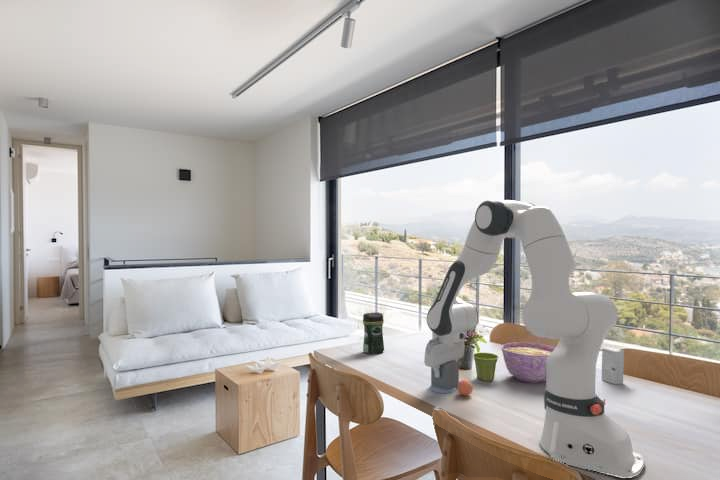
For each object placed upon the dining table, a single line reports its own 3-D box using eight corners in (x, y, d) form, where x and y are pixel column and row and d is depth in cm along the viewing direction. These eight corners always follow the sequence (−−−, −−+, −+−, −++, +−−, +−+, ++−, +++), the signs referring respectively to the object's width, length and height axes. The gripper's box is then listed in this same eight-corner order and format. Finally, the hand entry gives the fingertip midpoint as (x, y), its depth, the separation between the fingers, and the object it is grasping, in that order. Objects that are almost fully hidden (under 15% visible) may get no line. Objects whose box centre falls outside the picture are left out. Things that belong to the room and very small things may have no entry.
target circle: (460, 388, 152) (460, 388, 152) (445, 395, 145) (445, 394, 145) (439, 382, 158) (439, 382, 158) (424, 388, 152) (424, 388, 152)
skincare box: (600, 379, 161) (600, 347, 161) (610, 378, 162) (610, 346, 162) (615, 385, 155) (614, 351, 155) (624, 383, 156) (624, 350, 157)
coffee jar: (379, 349, 208) (378, 310, 208) (386, 353, 200) (386, 313, 200) (360, 351, 204) (360, 312, 204) (367, 355, 196) (367, 314, 197)
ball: (475, 395, 145) (475, 380, 145) (467, 398, 142) (467, 383, 142) (462, 391, 149) (462, 377, 149) (454, 395, 145) (454, 380, 145)
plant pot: (500, 383, 157) (499, 359, 157) (473, 381, 159) (473, 358, 159) (497, 375, 166) (497, 353, 166) (472, 374, 168) (472, 352, 168)
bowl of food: (568, 388, 152) (568, 355, 152) (512, 388, 152) (512, 355, 152) (544, 371, 172) (544, 342, 172) (494, 371, 172) (494, 342, 172)
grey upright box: (458, 386, 154) (458, 361, 154) (447, 390, 149) (447, 365, 150) (442, 381, 159) (442, 357, 159) (431, 385, 154) (431, 361, 154)
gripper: (434, 342, 145) (435, 383, 145) (467, 333, 159) (467, 370, 159) (420, 339, 149) (420, 378, 149) (452, 330, 164) (453, 366, 164)
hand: (444, 374), depth 154 cm, fingers closed on grey upright box, 7 cm apart
